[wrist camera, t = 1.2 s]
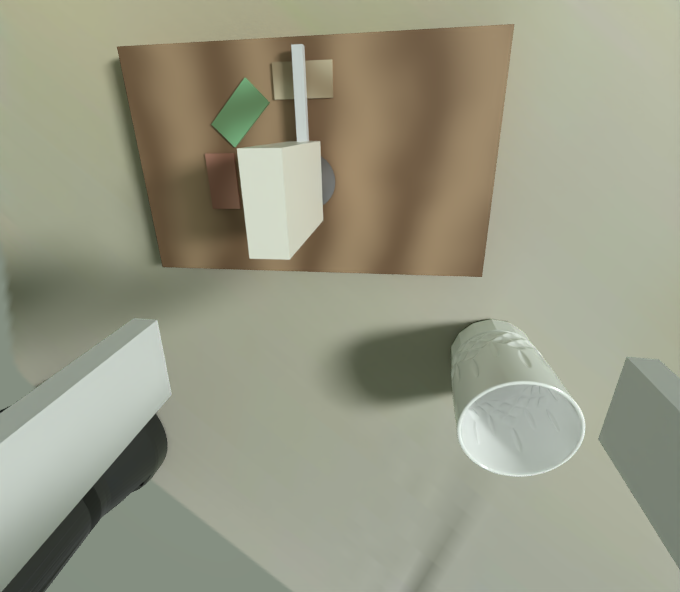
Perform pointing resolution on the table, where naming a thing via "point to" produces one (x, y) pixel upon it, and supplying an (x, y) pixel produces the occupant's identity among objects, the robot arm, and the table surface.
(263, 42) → the wooden cutting board
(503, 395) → the white cup
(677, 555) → the robot arm
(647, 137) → the table surface
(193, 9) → the table surface
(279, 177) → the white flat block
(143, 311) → the table surface
